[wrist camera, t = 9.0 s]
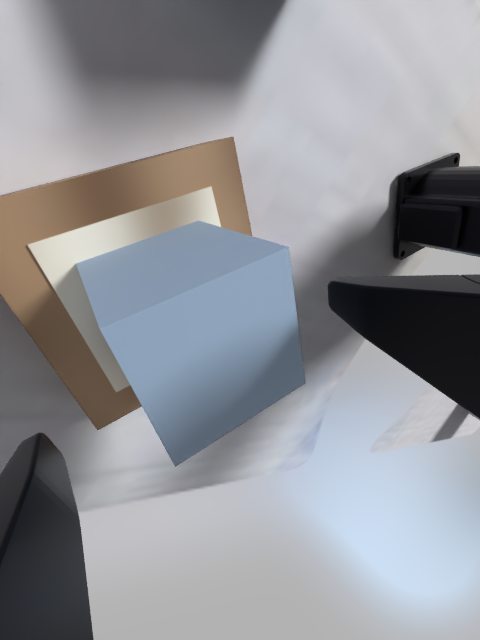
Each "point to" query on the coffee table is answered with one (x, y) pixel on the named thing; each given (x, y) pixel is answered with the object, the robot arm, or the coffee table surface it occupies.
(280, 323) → the block
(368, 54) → the coffee table surface
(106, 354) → the picture frame
